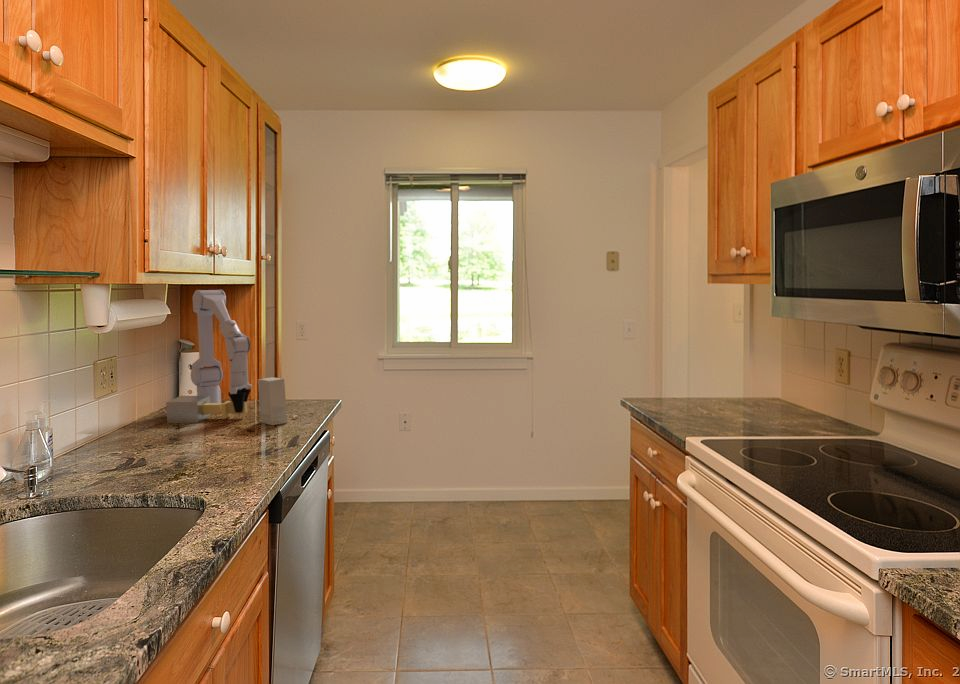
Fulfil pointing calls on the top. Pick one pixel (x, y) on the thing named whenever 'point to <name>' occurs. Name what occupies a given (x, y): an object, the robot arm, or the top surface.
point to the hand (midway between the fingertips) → (240, 411)
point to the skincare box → (272, 401)
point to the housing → (186, 409)
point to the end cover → (221, 408)
